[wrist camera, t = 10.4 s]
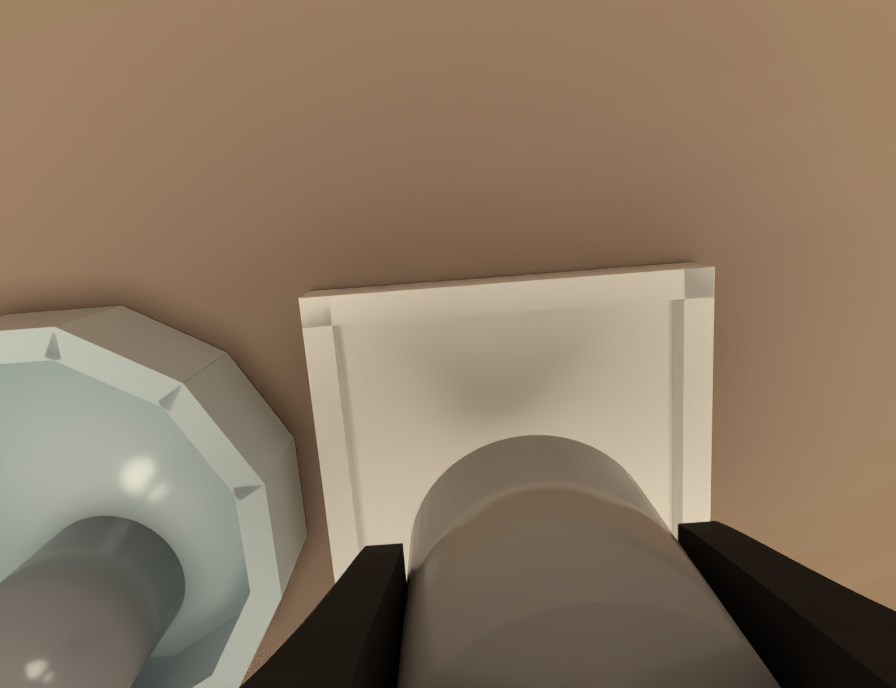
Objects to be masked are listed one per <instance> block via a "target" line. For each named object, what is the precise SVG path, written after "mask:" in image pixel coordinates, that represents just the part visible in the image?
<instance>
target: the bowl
mask: <svg viewBox="0 0 896 688" xmlns="http://www.w3.org/2000/svg"><path fill="white" fill-rule="evenodd" d="M95 516H116V517H122V518H126V519H130V520H133V521H136V522H138V523H140V524H142V525H145V526H147V527H148V528H150V529H151V530H153V531H154V532H156V533H157V534H158V535H160V536H161V537H162V538H163V539H164V540H165V541H166V542H167V543H168V544H169V545H170V547H171V548H172V549H173V551H174V552H175V554H176V555H177V557H178V559H179V561H180V563H181V566H182V569H183V573H184V577H185V595H184V600H183V603H182V606H181V609H180V611H179V612H178V614H177V616H176V618H175V619H174V621H173V622H172V624H171V625H170V627H169V628H168V630H167V631H166V633H165V635H164V636H163V638H162V639H161V641H160V642H159V644H158V645H157V647H156V648H155V650H154V652H153V653H152V655H151V656H150V658H149V659H148V661H147V662H146V664H145V666H144V667H143V669H142V670H141V672H140V673H139V675H138V676H137V678H136V679H135V681H134V683H133V684H132V686H131V687H130V688H239V686H240V684H241V682H242V680H243V678H244V676H245V674H246V672H247V670H248V668H249V666H250V663H251V661H252V659H253V657H254V655H255V653H256V651H257V649H258V647H259V645H260V642H261V640H262V638H263V636H264V634H265V632H266V630H267V628H268V626H269V624H270V622H271V619H272V617H273V615H274V613H275V611H276V609H277V607H278V605H279V603H280V601H281V598H282V596H283V594H284V591H285V589H286V586H287V584H288V581H289V579H290V576H291V574H292V572H293V569H294V567H295V564H296V562H297V559H298V557H299V554H300V552H301V549H302V547H303V545H304V542H305V540H306V537H307V528H306V520H305V513H304V506H303V498H302V491H301V484H300V476H299V469H298V462H297V454H296V447H295V440H294V437H293V436H292V435H291V433H290V432H289V431H288V429H287V428H286V427H285V426H284V424H283V423H282V422H281V420H280V419H279V418H278V417H277V415H276V414H275V413H274V412H273V410H272V409H271V408H270V406H269V405H268V404H267V403H266V401H265V400H264V399H263V398H262V396H261V395H260V394H259V392H258V391H257V390H256V389H255V387H254V386H253V385H252V383H251V382H250V381H249V380H248V378H247V377H246V376H245V375H244V373H243V372H242V371H241V369H240V368H239V367H238V366H237V364H236V363H235V362H234V361H233V359H232V358H231V357H230V355H229V354H228V353H227V352H225V351H223V350H221V349H218V348H216V347H214V346H212V345H209V344H207V343H205V342H203V341H201V340H198V339H196V338H194V337H192V336H189V335H187V334H185V333H183V332H180V331H178V330H176V329H174V328H172V327H169V326H167V325H165V324H163V323H160V322H158V321H156V320H154V319H151V318H149V317H147V316H145V315H143V314H140V313H138V312H136V311H134V310H131V309H129V308H127V307H125V306H122V305H120V306H107V307H94V308H80V309H67V310H54V311H41V312H28V313H15V314H8V315H4V316H0V582H1V581H3V580H4V579H5V578H6V577H7V576H8V575H10V574H11V573H12V572H13V571H14V570H15V569H17V568H18V567H19V566H20V565H21V564H23V563H24V562H25V561H26V560H27V559H28V558H30V557H31V556H32V555H33V554H34V553H35V552H37V551H38V550H39V549H40V548H41V547H42V546H44V545H45V544H46V543H47V542H48V541H49V540H51V539H52V538H53V537H54V536H55V535H56V534H58V533H59V532H60V531H61V530H63V529H64V528H65V527H67V526H69V525H70V524H72V523H74V522H76V521H79V520H81V519H85V518H89V517H95Z"/></svg>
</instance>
